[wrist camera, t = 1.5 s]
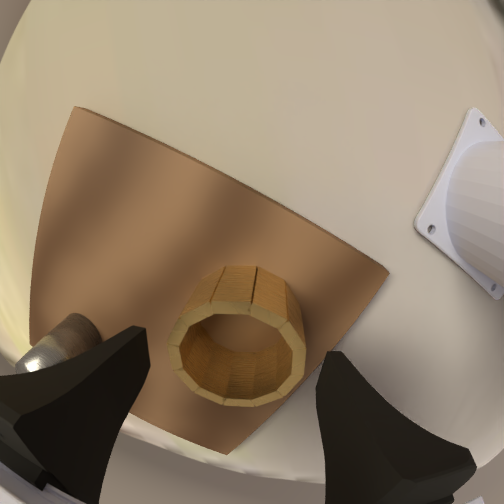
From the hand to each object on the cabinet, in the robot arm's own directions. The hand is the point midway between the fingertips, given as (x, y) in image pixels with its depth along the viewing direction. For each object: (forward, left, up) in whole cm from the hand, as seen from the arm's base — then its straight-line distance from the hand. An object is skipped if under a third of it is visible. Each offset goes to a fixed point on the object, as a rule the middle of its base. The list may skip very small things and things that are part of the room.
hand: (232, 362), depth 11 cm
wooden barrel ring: (0, 0, -4) cm, 4 cm away
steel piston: (+8, +7, -5) cm, 11 cm away
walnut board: (+4, +3, -5) cm, 7 cm away
